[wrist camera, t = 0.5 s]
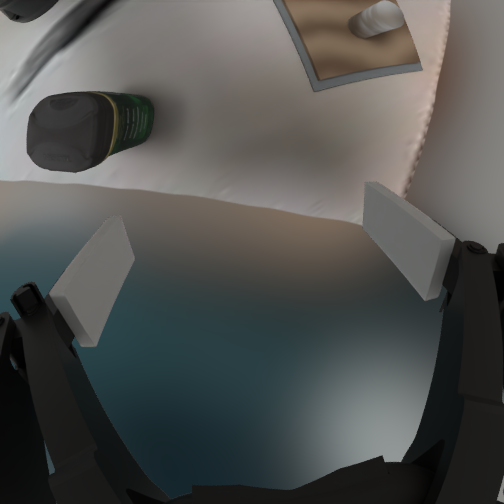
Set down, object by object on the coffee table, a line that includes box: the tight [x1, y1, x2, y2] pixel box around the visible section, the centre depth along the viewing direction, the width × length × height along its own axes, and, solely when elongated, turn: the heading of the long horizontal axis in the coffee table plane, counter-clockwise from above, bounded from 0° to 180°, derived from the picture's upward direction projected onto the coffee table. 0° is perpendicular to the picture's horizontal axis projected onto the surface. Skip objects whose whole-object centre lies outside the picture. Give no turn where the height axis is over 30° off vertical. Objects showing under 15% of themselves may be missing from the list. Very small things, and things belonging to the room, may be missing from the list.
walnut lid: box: [281, 0, 420, 80], centre depth 24 cm, size 14×19×10 cm
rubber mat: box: [273, 0, 423, 92], centre depth 28 cm, size 17×21×1 cm
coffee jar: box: [27, 91, 154, 173], centre depth 25 cm, size 10×8×19 cm
